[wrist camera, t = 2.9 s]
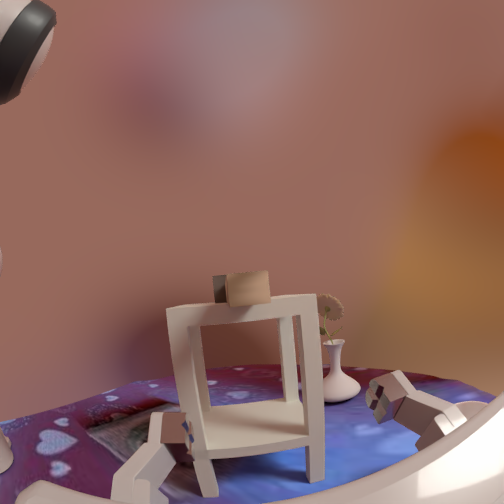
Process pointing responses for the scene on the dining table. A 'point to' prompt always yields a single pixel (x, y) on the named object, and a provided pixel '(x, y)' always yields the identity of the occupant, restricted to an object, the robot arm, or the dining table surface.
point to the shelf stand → (257, 413)
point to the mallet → (242, 288)
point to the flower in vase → (335, 355)
